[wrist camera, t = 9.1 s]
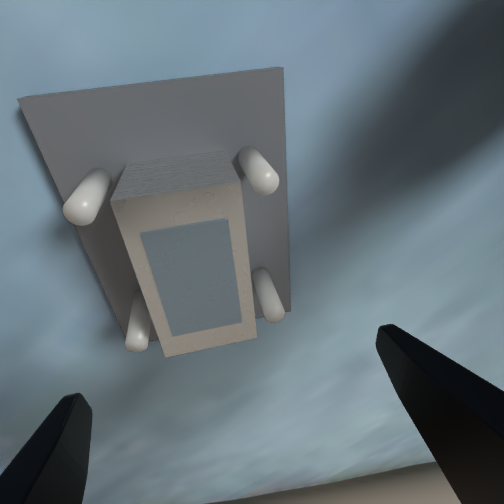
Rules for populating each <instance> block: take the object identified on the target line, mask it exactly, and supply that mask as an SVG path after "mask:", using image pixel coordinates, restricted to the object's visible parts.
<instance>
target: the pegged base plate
mask: <svg viewBox="0 0 504 504" xmlns="http://www.w3.org/2000/svg"><path fill="white" fill-rule="evenodd" d="M17 100H18V102H19V105H20V107H21V109H22V111H23V113H24V116H25V118H26V120H27V122H28V124H29V127H30V129H31V131H32V133H33V135H34V138H35V140H36V142H37V144H38V146H39V149H40V151H41V153H42V155H43V157H44V160H45V162H46V164H47V166H48V168H49V171H50V173H51V175H52V177H53V179H54V182H55V184H56V186H57V188H58V190H59V193H60V195H61V197H62V199H63V201H64V206H63V214H64V216H65V217H66V219H67V220H68V221H70V222H71V223H73V224H74V226H75V228H76V230H77V232H78V234H79V236H80V239H81V241H82V243H83V245H84V247H85V250H86V252H87V254H88V256H89V258H90V261H91V263H92V265H93V267H94V269H95V272H96V274H97V276H98V278H99V280H100V283H101V285H102V287H103V289H104V291H105V294H106V296H107V298H108V300H109V302H110V305H111V307H112V309H113V311H114V313H115V316H116V318H117V320H118V322H119V324H120V327H121V329H122V331H123V333H124V335H125V338H126V342H125V347H126V348H127V349H128V350H129V351H131V352H141V351H144V350H145V349H146V348H147V347H148V342H149V341H153V340H157V339H159V338H158V335H157V332H156V329H155V327H154V324H153V321H152V318H151V315H150V313H149V310H148V307H147V304H146V301H145V299H144V296H143V293H142V290H141V287H140V285H139V282H138V279H137V276H136V273H135V271H134V268H133V265H132V262H131V259H130V257H129V254H128V251H127V248H126V245H125V243H124V240H123V237H122V234H121V231H120V229H119V226H118V223H117V220H116V217H115V215H114V212H113V209H112V206H111V203H110V200H111V198H112V195H113V193H114V191H115V189H116V187H117V184H118V182H119V180H120V178H121V176H122V174H123V171H124V169H125V167H126V165H127V163H131V162H138V161H145V160H153V159H160V158H167V157H175V156H182V155H189V154H196V153H204V152H211V151H218V150H225V151H226V153H227V155H228V157H229V159H230V161H231V163H232V165H233V167H234V169H235V171H236V173H237V175H238V177H239V179H240V181H241V189H242V198H243V208H244V217H245V227H246V236H247V245H248V255H249V264H250V274H251V283H252V293H253V302H254V312H255V319H256V318H261V317H265V319H266V321H268V322H270V323H276V322H279V321H280V320H282V319H283V318H284V316H285V312H289V311H291V301H290V268H289V236H288V203H287V170H286V137H285V104H284V72H283V68H282V67H273V68H265V69H256V70H248V71H239V72H231V73H222V74H214V75H205V76H196V77H188V78H179V79H171V80H162V81H154V82H145V83H137V84H128V85H120V86H111V87H103V88H94V89H86V90H77V91H68V92H60V93H51V94H43V95H34V96H26V97H22V98H19V99H17Z"/></svg>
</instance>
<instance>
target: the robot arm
mask: <svg viewBox="0 0 504 504" xmlns="http://www.w3.org/2000/svg"><path fill="white" fill-rule="evenodd" d="M376 349H377V352H378V354H379V356H380V358H381V360H382V363H383V365H384V367H385V369H386V371H387V373H388V376H389V378H390V380H391V382H392V384H393V386H394V389H395V391H396V393H397V395H398V397H399V399H400V400H401V402H402V404H403V406H404V407H405V409H406V411H407V412H408V414H409V416H410V417H411V419H412V421H413V423H414V424H415V426H416V428H417V429H418V431H419V433H420V434H421V436H422V438H423V439H424V441H425V443H426V445H427V446H428V448H429V450H430V451H431V453H432V455H433V456H434V458H435V460H436V461H437V463H438V465H439V467H440V468H441V470H442V472H443V473H444V475H445V477H446V478H447V480H448V482H449V483H450V485H451V487H452V488H453V490H454V492H455V493H456V495H457V497H458V499H459V500H460V502H461V504H504V391H502V390H501V389H499V388H497V387H496V386H494V385H493V384H491V383H489V382H488V381H486V380H484V379H483V378H481V377H479V376H478V375H476V374H474V373H473V372H471V371H470V370H468V369H466V368H465V367H463V366H461V365H460V364H458V363H456V362H455V361H453V360H451V359H450V358H448V357H447V356H445V355H443V354H442V353H440V352H438V351H437V350H435V349H433V348H432V347H430V346H428V345H427V344H425V343H424V342H422V341H420V340H419V339H417V338H415V337H414V336H412V335H410V334H409V333H407V332H405V331H404V330H402V329H401V328H399V327H397V326H396V325H393V324H387V325H383V326H380V327H379V328H378V333H377V338H376ZM91 428H92V409H91V407H90V406H89V404H88V403H87V401H86V400H85V398H84V397H83V395H82V394H80V393H75V394H70V395H66V396H64V397H63V398H62V399H61V400H60V401H59V403H58V404H57V405H56V406H55V408H54V409H53V410H52V411H51V413H50V414H49V415H48V416H47V418H46V419H45V420H44V421H43V423H42V424H41V425H40V426H39V428H38V429H37V430H36V431H35V433H34V434H33V435H32V436H31V438H30V439H29V440H28V441H27V443H26V444H25V445H24V446H23V448H22V449H21V450H20V451H19V453H18V454H17V455H16V456H15V458H14V459H13V460H12V461H11V463H10V464H9V465H8V466H7V468H6V469H5V470H4V471H3V473H2V474H1V475H0V504H82V501H83V496H84V490H85V485H86V479H87V473H88V464H89V452H90V440H91Z"/></svg>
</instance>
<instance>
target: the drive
mask: <svg viewBox="0 0 504 504" xmlns="http://www.w3.org/2000/svg"><path fill="white" fill-rule="evenodd" d="M110 203H111V206H112V209H113V212H114V215H115V217H116V220H117V223H118V226H119V229H120V231H121V234H122V237H123V240H124V243H125V245H126V248H127V251H128V254H129V257H130V259H131V262H132V265H133V268H134V271H135V273H136V276H137V279H138V282H139V285H140V287H141V290H142V293H143V296H144V299H145V301H146V304H147V307H148V310H149V313H150V315H151V318H152V321H153V324H154V327H155V329H156V332H157V335H158V338H159V341H160V343H161V346H162V349H163V352H164V355H165V357H170V356H175V355H180V354H184V353H189V352H194V351H198V350H203V349H208V348H212V347H217V346H222V345H226V344H231V343H236V342H240V341H245V340H250V339H254V338H257V331H256V321H255V312H254V302H253V293H252V283H251V274H250V264H249V255H248V245H247V236H246V227H245V217H244V208H243V198H242V189H241V181H240V179H239V177H238V175H237V173H236V171H235V169H234V167H233V165H232V163H231V161H230V159H229V157H228V155H227V153H226V151H225V150H218V151H211V152H204V153H196V154H189V155H182V156H175V157H167V158H160V159H153V160H145V161H138V162H131V163H127V165H126V167H125V169H124V171H123V174H122V176H121V178H120V180H119V182H118V184H117V187H116V189H115V191H114V193H113V195H112V198H111V200H110Z"/></svg>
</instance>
